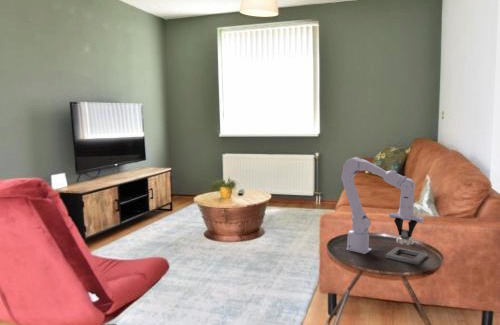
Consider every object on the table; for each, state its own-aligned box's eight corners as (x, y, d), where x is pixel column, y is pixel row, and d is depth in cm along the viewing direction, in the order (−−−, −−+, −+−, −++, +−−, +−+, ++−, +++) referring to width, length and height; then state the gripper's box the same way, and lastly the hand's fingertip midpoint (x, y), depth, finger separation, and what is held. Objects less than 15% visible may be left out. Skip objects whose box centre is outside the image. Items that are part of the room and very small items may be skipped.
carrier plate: (385, 257, 183) (385, 254, 183) (396, 249, 194) (396, 246, 194) (417, 265, 174) (417, 261, 174) (427, 256, 185) (427, 253, 185)
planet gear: (393, 242, 182) (394, 230, 182) (399, 238, 188) (400, 227, 187) (409, 245, 178) (410, 233, 177) (415, 242, 183) (416, 230, 182)
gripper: (387, 205, 182) (385, 234, 184) (420, 210, 173) (419, 241, 175) (392, 202, 188) (391, 231, 189) (425, 207, 179) (424, 237, 180)
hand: (405, 235), depth 182 cm, fingers closed on planet gear, 4 cm apart
